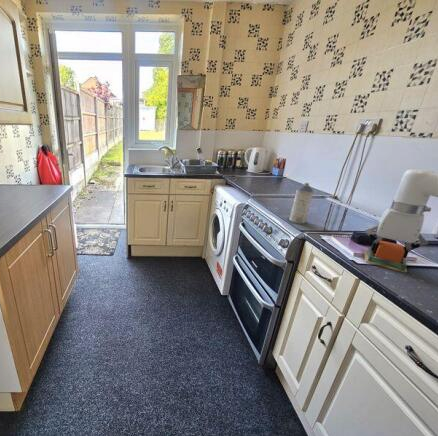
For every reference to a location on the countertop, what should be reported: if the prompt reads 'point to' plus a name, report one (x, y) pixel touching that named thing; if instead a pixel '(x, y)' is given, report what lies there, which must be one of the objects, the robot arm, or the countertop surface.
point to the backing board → (384, 261)
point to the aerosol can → (301, 204)
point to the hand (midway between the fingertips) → (386, 255)
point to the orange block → (390, 251)
